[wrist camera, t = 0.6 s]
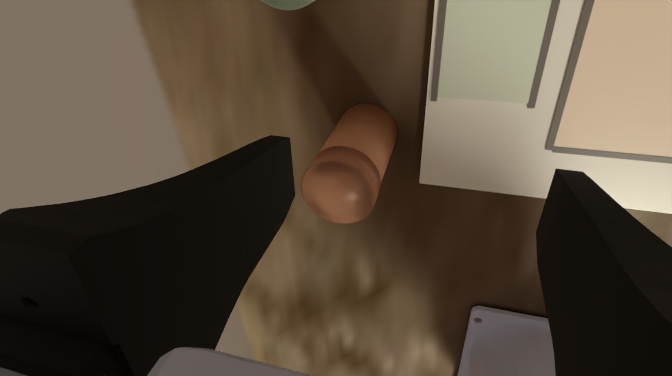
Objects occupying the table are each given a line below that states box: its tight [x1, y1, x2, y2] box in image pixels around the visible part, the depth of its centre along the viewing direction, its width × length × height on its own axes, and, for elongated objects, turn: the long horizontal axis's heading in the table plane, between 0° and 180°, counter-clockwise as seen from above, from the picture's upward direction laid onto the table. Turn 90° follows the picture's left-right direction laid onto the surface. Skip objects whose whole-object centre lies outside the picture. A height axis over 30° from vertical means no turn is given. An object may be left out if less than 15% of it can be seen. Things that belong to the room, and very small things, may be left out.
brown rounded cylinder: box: [301, 103, 397, 224], centre depth 21 cm, size 3×3×6 cm
